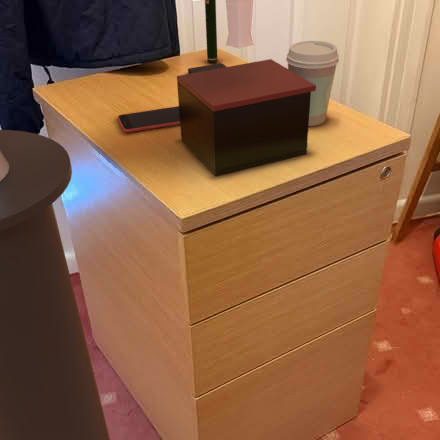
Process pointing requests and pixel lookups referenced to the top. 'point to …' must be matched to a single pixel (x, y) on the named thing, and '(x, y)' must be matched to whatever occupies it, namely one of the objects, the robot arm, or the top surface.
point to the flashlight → (211, 30)
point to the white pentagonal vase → (239, 23)
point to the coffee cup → (315, 73)
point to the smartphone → (149, 119)
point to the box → (244, 131)
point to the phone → (206, 68)
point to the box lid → (244, 84)
